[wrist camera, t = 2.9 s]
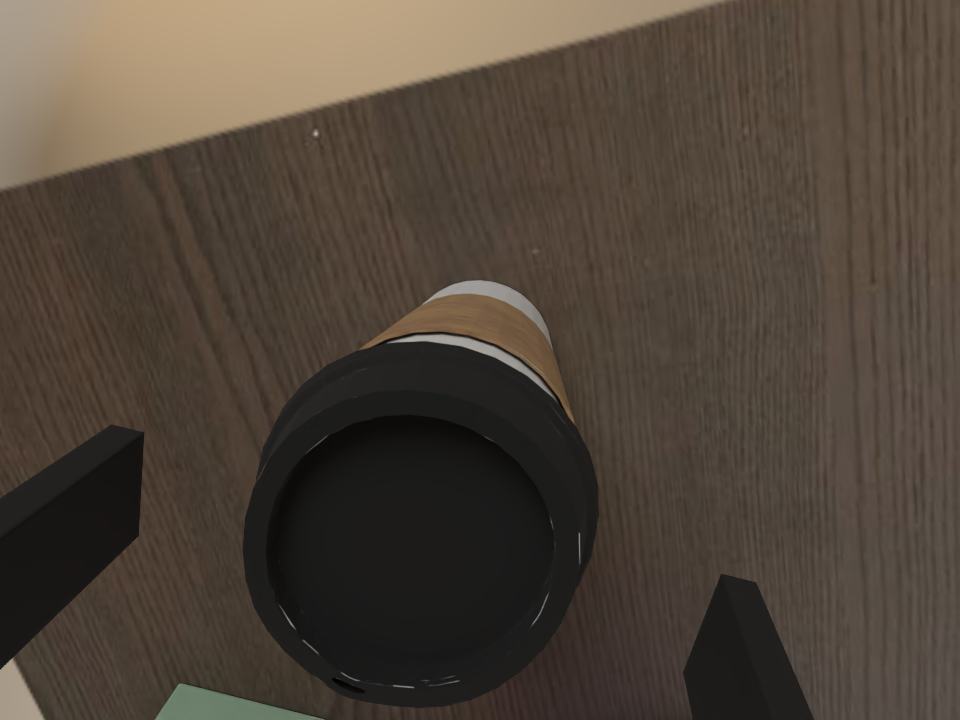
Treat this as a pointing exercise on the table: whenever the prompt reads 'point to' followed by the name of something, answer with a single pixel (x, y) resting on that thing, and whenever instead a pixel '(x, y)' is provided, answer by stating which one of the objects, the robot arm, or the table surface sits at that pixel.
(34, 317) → the table surface
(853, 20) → the table surface
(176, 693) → the kitchen scale
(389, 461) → the coffee cup
